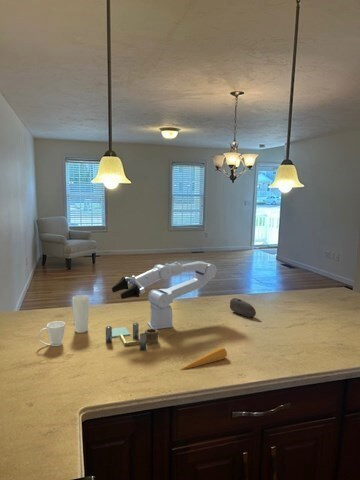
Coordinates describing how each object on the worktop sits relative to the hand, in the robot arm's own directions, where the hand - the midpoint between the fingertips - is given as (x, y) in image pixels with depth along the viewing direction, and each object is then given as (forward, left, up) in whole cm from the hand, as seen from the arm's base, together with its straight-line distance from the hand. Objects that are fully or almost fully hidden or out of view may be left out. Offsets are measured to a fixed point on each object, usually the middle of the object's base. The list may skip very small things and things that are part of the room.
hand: (116, 293), depth 146 cm
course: (-1, +10, -18) cm, 21 cm away
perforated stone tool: (-64, -5, -19) cm, 67 cm away
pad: (-1, -3, -18) cm, 19 cm away
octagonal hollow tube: (-12, +10, -18) cm, 24 cm away
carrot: (-24, +33, -19) cm, 45 cm away
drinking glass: (+13, -10, -18) cm, 25 cm away
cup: (+25, 0, -18) cm, 31 cm away
